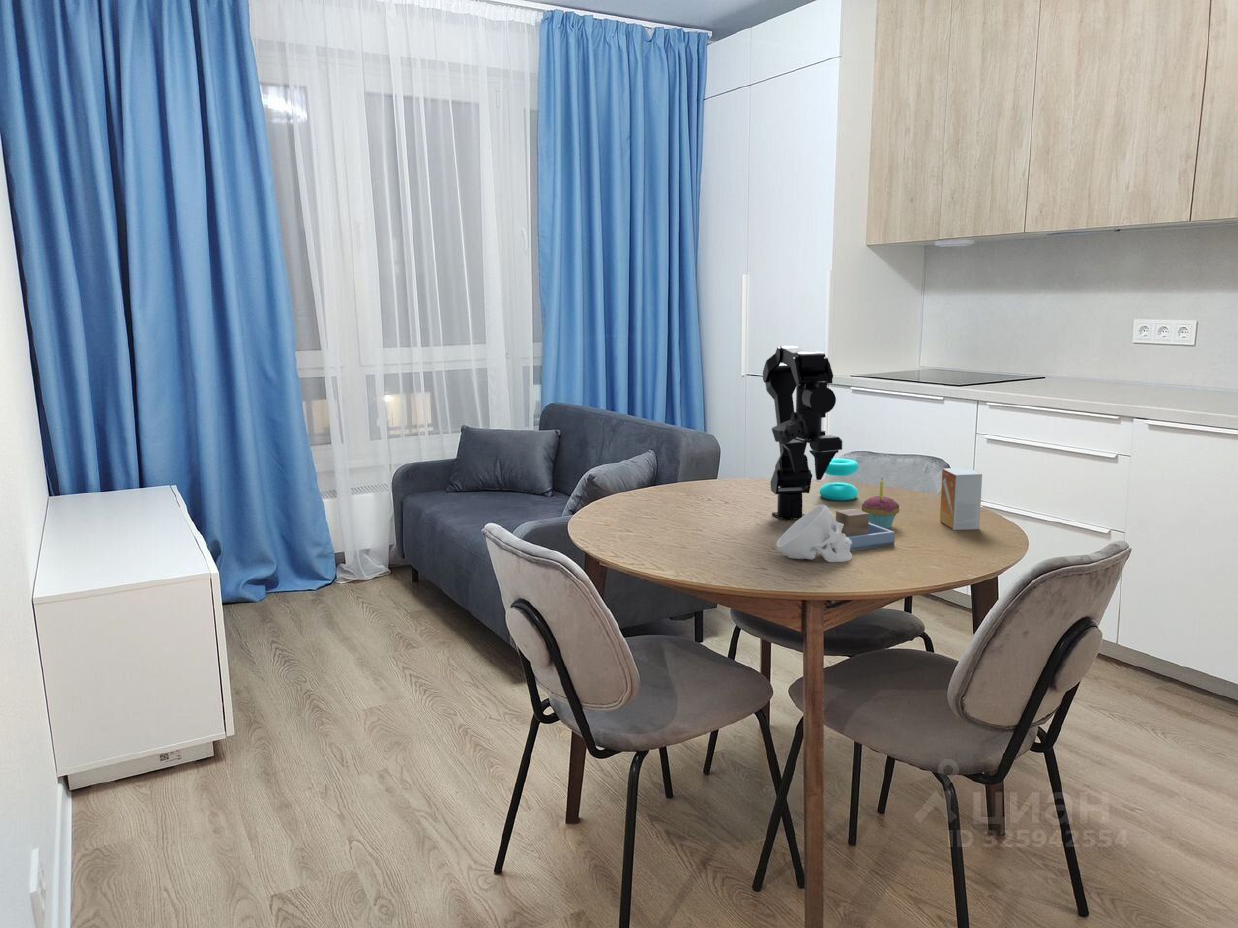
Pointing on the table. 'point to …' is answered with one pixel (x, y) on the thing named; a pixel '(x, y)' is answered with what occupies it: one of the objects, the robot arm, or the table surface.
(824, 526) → the skull bowl
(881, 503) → the cupcake
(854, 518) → the block
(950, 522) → the small box
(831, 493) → the donuts
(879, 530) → the tray
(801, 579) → the table surface
